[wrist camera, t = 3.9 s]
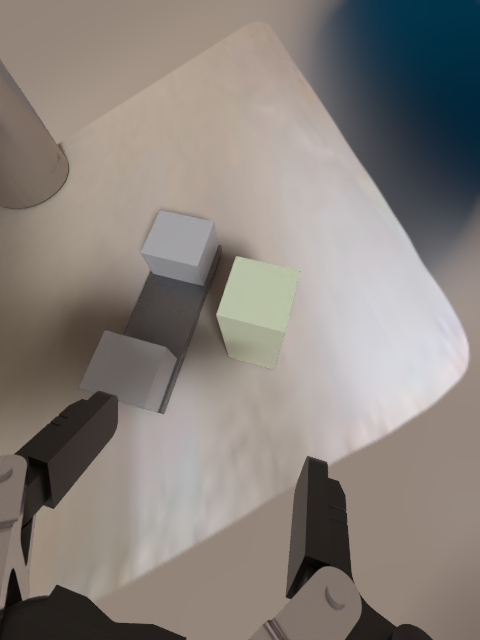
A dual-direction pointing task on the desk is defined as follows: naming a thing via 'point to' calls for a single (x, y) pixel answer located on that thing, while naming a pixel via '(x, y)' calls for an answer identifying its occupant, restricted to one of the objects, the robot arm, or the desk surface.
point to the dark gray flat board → (169, 316)
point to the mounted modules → (140, 356)
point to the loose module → (256, 310)
